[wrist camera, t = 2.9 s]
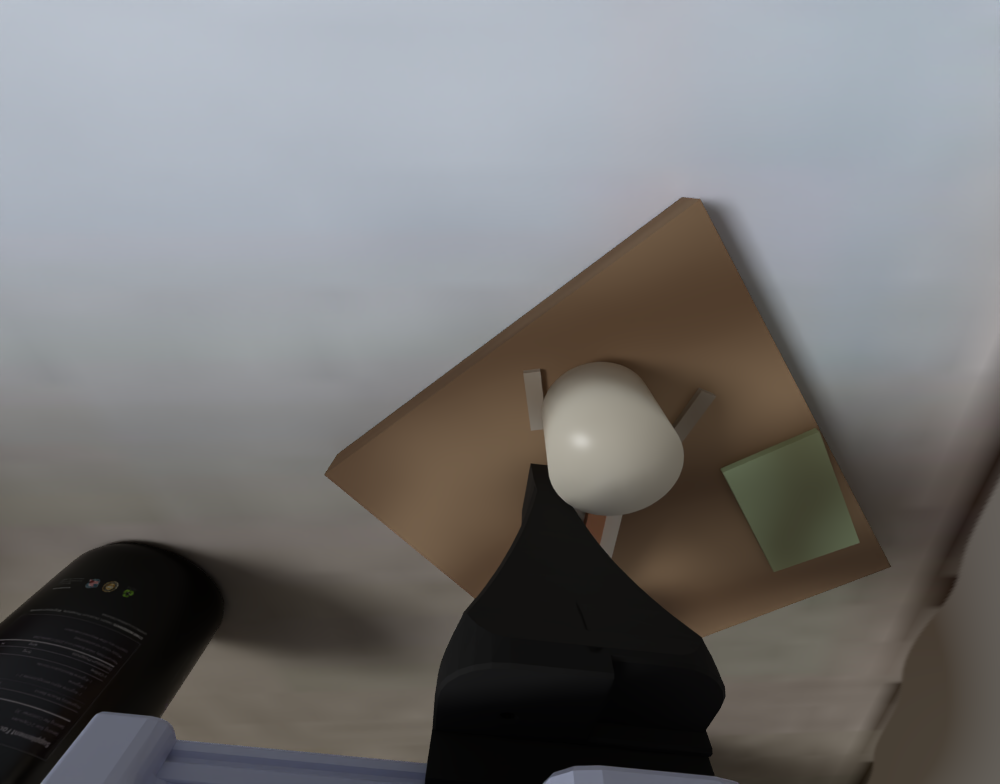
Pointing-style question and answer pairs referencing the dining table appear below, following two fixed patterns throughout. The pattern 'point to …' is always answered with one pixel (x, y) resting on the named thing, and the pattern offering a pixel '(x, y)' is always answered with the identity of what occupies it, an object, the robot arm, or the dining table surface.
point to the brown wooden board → (685, 402)
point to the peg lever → (608, 446)
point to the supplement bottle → (98, 649)
